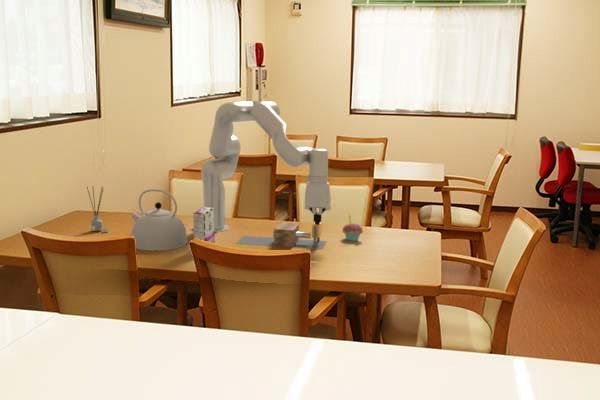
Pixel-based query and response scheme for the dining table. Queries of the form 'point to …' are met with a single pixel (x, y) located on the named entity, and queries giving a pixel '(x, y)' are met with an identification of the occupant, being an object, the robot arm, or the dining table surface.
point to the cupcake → (352, 231)
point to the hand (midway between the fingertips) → (317, 223)
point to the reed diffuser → (97, 217)
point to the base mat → (270, 242)
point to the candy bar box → (204, 224)
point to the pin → (301, 234)
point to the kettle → (158, 228)
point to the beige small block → (319, 230)
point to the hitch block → (289, 235)
